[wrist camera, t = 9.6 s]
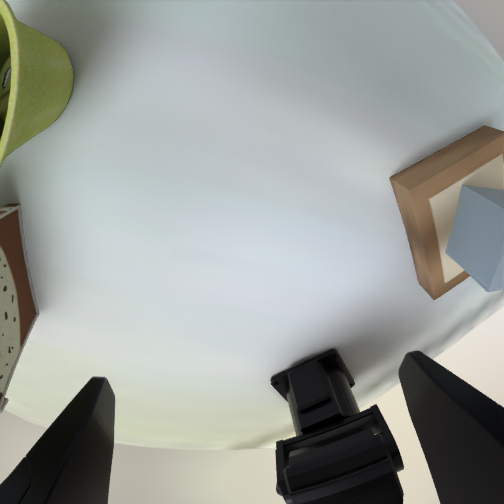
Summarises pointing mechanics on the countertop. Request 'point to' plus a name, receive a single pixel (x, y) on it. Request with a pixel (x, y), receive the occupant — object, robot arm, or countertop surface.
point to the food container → (13, 295)
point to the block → (479, 235)
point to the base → (445, 201)
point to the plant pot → (29, 81)
